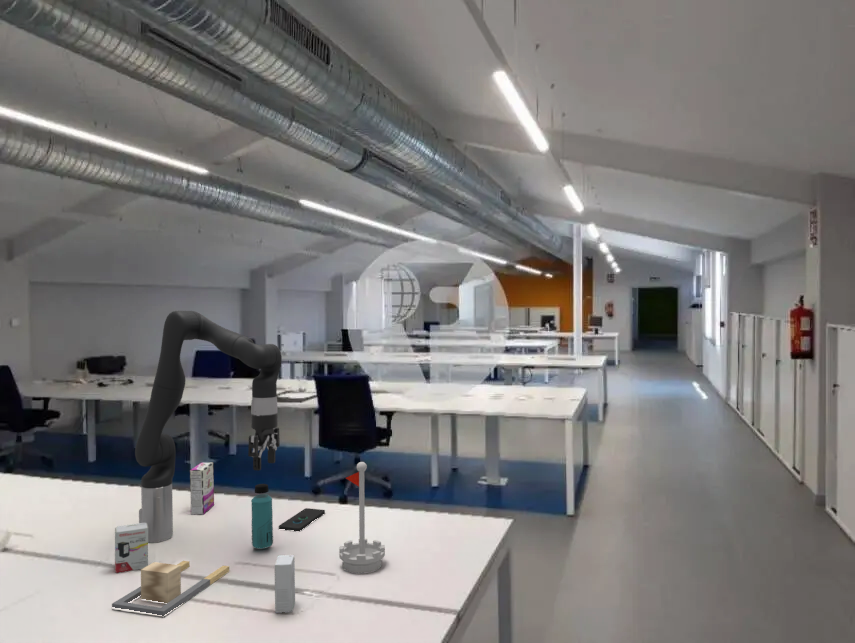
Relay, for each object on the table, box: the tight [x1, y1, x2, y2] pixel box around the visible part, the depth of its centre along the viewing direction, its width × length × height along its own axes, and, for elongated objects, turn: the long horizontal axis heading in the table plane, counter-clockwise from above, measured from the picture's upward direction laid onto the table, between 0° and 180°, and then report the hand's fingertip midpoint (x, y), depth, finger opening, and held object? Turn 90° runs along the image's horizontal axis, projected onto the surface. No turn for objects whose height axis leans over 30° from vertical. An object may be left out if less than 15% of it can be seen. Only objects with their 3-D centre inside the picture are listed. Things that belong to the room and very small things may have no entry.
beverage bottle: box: [250, 483, 274, 549], centre depth 194 cm, size 6×7×20 cm
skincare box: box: [274, 554, 296, 614], centre depth 157 cm, size 6×4×12 cm
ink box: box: [114, 522, 149, 574], centre depth 181 cm, size 9×5×12 cm, turn 118°
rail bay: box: [111, 560, 230, 616], centre depth 167 cm, size 15×28×2 cm, turn 164°
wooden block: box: [140, 561, 182, 603], centre depth 162 cm, size 8×5×8 cm, turn 74°
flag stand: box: [338, 461, 386, 574], centre depth 182 cm, size 13×13×30 cm
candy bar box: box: [189, 461, 215, 516], centre depth 232 cm, size 11×5×16 cm, turn 179°
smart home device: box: [278, 507, 326, 532], centre depth 220 cm, size 8×2×20 cm
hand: (264, 466), depth 187 cm, fingers open, 8 cm apart
